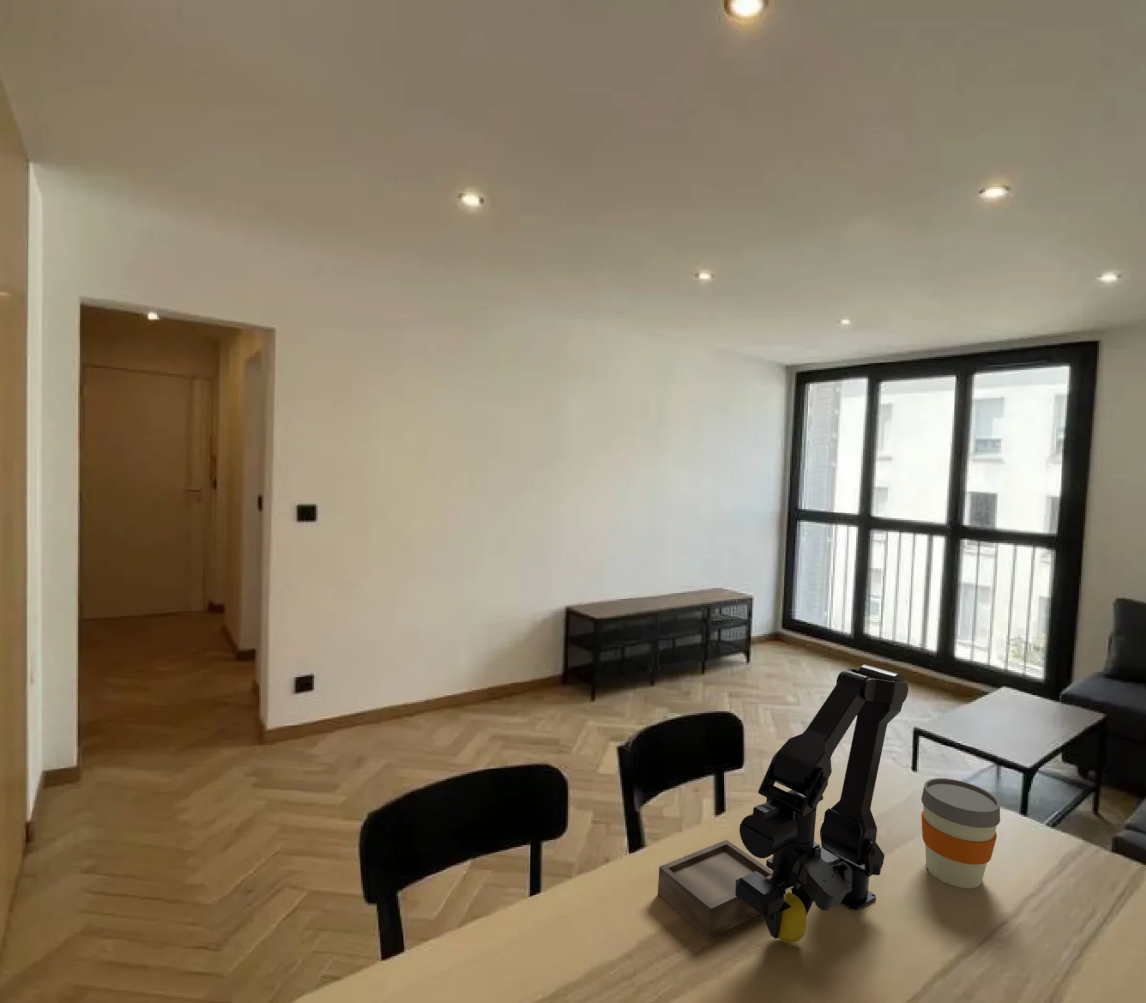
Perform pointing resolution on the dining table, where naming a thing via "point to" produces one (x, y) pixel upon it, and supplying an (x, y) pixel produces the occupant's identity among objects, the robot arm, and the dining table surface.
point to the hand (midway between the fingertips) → (786, 930)
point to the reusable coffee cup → (958, 830)
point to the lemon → (793, 920)
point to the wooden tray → (709, 887)
